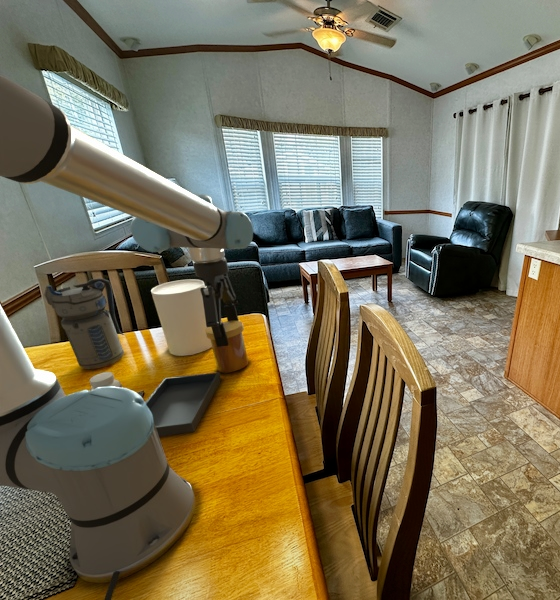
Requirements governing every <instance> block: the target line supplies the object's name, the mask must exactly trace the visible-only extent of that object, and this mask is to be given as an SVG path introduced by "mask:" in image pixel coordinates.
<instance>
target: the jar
mask: <svg viewBox="0 0 560 600" xmlns="http://www.w3.org/2000/svg"><path fill="white" fill-rule="evenodd" d="M227 339H228V343H229V345H228V346H221V347H217V345H216V341H215V340H212V339H210V341H211V345H212V347H211V348H212V352H213V356H214V360H215V364H216V368H217V371H218V372H220V373H225V374H226V373H233V372H236V371H239V370H241V369H243V368H245V367H247V366H248V364H249V358H248V353H247V348H246V343H245V340H244V335H243V331H242V332H241V333H240V334H238V335H236V336H233V337H230V338H227Z"/></svg>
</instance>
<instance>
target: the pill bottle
mask: <svg viewBox="0 0 560 600" xmlns="http://www.w3.org/2000/svg"><path fill="white" fill-rule="evenodd" d="M89 383H90V386H91V388H90V389H89V391H92V390H94V389H95V388H97V387H109V386H112V387H123V386H122V383H121V382H120V380H118V379H115V375H114V373H113V372H111V371H105V372H101V373H98V374H96V375H95V374H94V375H93V376H92V377H90V379H89Z"/></svg>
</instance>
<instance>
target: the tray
mask: <svg viewBox="0 0 560 600" xmlns="http://www.w3.org/2000/svg"><path fill="white" fill-rule="evenodd" d="M221 382H222V377H221V372H220V371H218V372H217V371H216V372H208V373H199V374H198V373H197V374H190V375H189V374H188V375H180V376H171V377H169V376H168V377H164V378H163V379H162V381H161V382H160V383H159V384H158V385H157V387H156V388H155V389H154V391H153V392H152V393H151V394H150V396H149V397H148V398H147V399H146V400H145V403H146V405H147V407H148V408H149V410H150V411H151V413H152V415H153V420H154V424H155V427H156V430H157V433H158V436H159V438H160V437H167V436H174V435H181V434H191V433H195V431H196V429H197V427H198V425H199V423H200V421H201V420H202V418H203V416H204V414H205V412H206V410H207V408H208V406H209V404H210V403H211V400H212V399H213V397H214V395H215V393H216V391H217V389H218V387H219V385H220V384H221Z"/></svg>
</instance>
